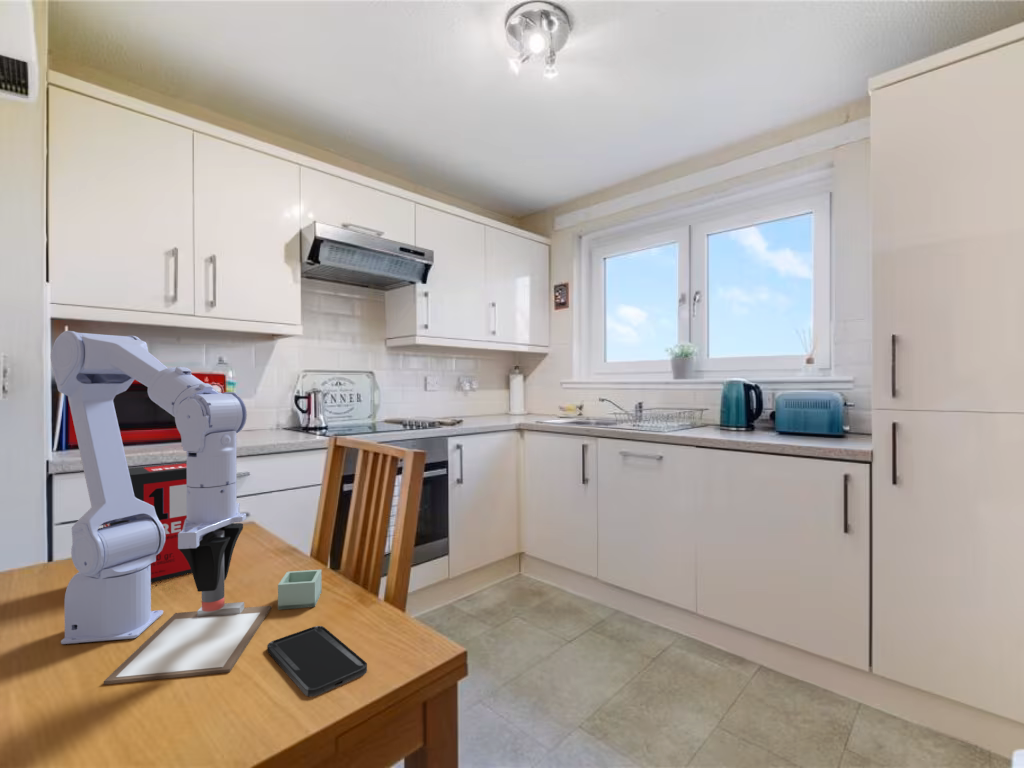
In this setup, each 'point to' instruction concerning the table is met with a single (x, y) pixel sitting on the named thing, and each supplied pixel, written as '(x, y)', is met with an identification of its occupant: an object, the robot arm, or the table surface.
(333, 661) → the phone
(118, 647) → the table surface
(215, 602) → the marker
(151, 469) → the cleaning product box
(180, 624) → the clipboard
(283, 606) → the box
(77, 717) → the table surface
